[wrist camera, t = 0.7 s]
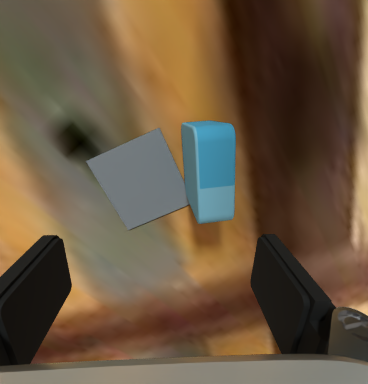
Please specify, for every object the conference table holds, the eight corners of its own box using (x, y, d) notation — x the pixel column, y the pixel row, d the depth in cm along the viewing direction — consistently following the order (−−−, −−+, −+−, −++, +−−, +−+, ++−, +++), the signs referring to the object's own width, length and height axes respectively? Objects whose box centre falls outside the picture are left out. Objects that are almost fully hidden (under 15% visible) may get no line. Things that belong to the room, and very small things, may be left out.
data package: (210, 191, 38) (234, 224, 27) (185, 194, 37) (199, 229, 26) (209, 120, 34) (236, 123, 22) (180, 122, 33) (194, 127, 22)
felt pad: (159, 127, 34) (159, 127, 33) (193, 202, 38) (193, 202, 38) (86, 161, 35) (86, 161, 34) (128, 229, 40) (128, 230, 39)
